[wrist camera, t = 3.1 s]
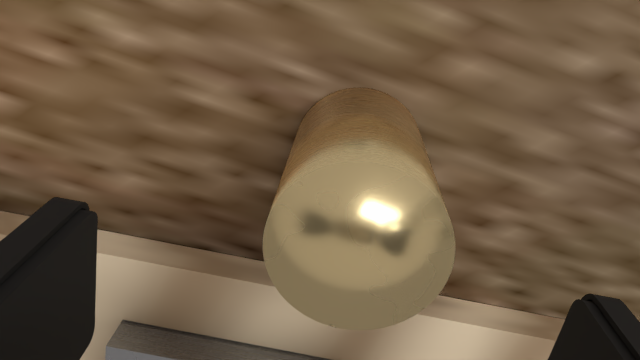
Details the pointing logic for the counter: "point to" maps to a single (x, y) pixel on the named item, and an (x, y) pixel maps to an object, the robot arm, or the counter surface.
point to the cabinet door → (270, 314)
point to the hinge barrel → (358, 216)
